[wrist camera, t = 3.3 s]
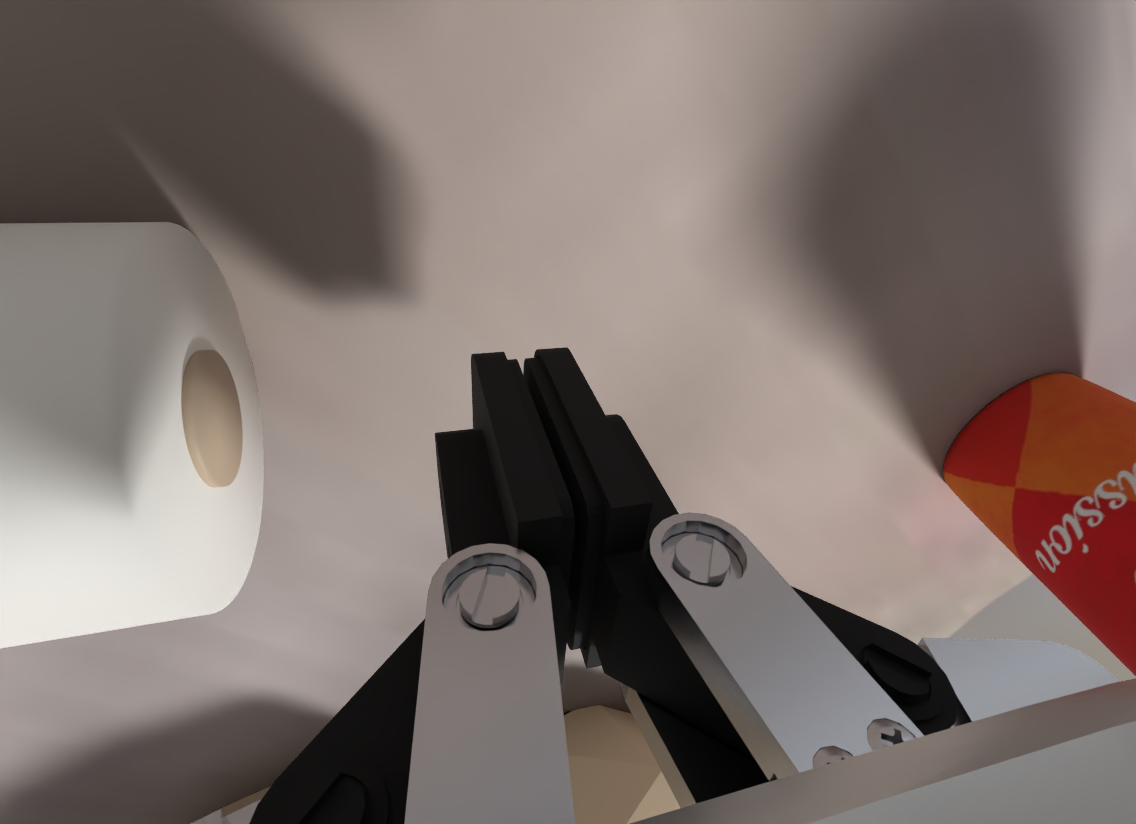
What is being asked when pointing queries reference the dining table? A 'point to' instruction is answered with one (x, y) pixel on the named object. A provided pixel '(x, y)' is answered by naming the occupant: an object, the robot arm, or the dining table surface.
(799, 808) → the robot arm
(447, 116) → the dining table surface
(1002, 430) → the paper cup
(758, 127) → the dining table surface
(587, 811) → the campfire
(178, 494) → the roll
